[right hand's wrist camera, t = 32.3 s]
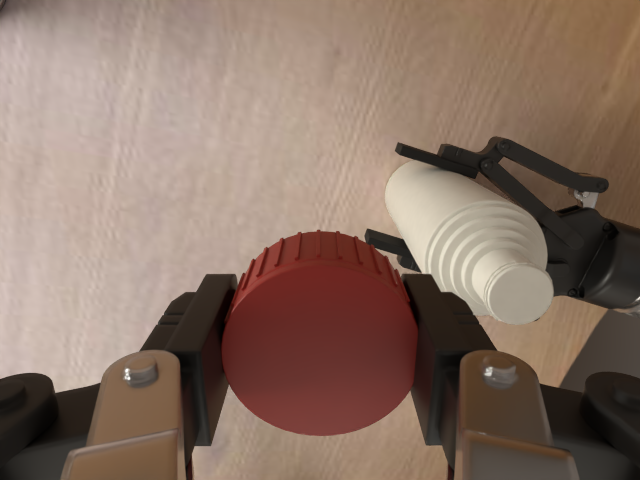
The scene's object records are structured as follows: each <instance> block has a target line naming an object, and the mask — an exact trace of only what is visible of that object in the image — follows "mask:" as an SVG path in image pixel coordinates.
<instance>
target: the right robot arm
mask: <svg viewBox="0 0 640 480" xmlns="http://www.w3.org/2000/svg"><path fill="white" fill-rule="evenodd" d="M5 1H6V0H0V10H1V9H2V7H3V5H4V3H5ZM401 280H402V282H403V285H404V287H405V290H406V292H407V295H408V297H409V300H410V302H409V304H410V306H411V309H412V311H413V314H414V317H415V320H416V322H417V326H418V338H417V349H416V361H415V372H414V383H413V386H412V388H411V390H410V391H411V394H412V398H413V401H414V405H415V408H416V412H417V416H418V419H419V423H420V426H421V430H422V433H423V437H424V440H425V444H426V445H442V446H443V449H444V453H445V456H446V459H447V469H446V480H640V379H639V378H637V377H633V376H631V375H626V374H622V373H616V372H599V373H595V374H592V375H590V376H589V377H588V378H587V379H586V382H585V386H584V390H583V393H581V392H576V391H571V390H566V389H561V388H557V387H552V386H547V385H543V384H540V383H539V380H538V377H537V374H536V373H535V371H534V370H533V369H532V368H531V366H529V365H528V364H527V363H526V362H524V361H523V360H521V359H519V358H517V357H515V356H513V355H510V354H507V353H504V352H500V351H497V349H496V348H495V346H494V345H493V343H492V342H491V340H490V338H489V337H488V335H487V334H486V332H485V331H484V329H483V327H482V326H481V325H479V321H478V320H477V318H476V316H475V315H473V312H472V310H471V309H470V307H469V306H468V304H467V302H466V301H464V300H463V299H461V298H460V297H459V296H457V295H456V294H454V293H453V292H441V291H440V289H439V287H438V285H437V283H436V282H435V280H434V278H433V276H432V275H431V274H402V276H401ZM237 287H238V284H237V277H236V275H235V274H206V276H205V277H204V279H203V281H202V283H201V285H200V286H199V288H198V290H197V292H185V293H184V294H182V295H181V296H179V297H178V298H176V299H175V300H173V301H172V302H171V303H170V305H169V306H168V308H167V309H166V311H165V313H164V315H163V316H162V317H161V319H160V320H159V322H158V325H156V326H155V328H154V329H153V331H152V333H151V334H150V336H149V337H148V339H147V340H146V342H145V343H144V345H143V346H142V348H141V349H140V351H139V352H136V353H133V354H130V355H127V356H125V357H123V358H121V359H119V360H117V361H116V362H114V363H113V364H112V365H111V366H109V368H108V369H107V370H106V371H105V373H104V374H103V377H102V380H101V383H98V384H95V385H92V386H87V387H83V388H78V389H73V390H68V391H63V392H58V393H55V390H54V386H53V383H52V380H51V379H50V378H49V377H47V376H46V375H43V374H38V373H23V374H17V375H13V376H9V377H5V378H2V379H0V480H194V469H193V461H192V452H193V449H194V446H211V444H212V441H213V437H214V434H215V430H216V427H217V423H218V420H219V417H220V413H221V410H222V406H223V403H224V399H225V396H226V393H227V389H228V386H229V383H228V381H227V379H226V376H225V373H224V369H223V365H222V355H221V341H222V334H223V331H224V328H225V323H224V320H225V318H226V315H227V312H228V310H229V307H230V305H231V302H232V300H233V297H234V294H235V292H236V289H237Z"/></svg>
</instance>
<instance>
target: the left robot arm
mask: <svg viewBox="0 0 640 480" xmlns="http://www.w3.org/2000/svg"><path fill="white" fill-rule="evenodd" d="M395 151H396V152H397V153H398V154H399V155H402V156H405V157H408V158H411V159H414V160H417V161H420V162H423V163H427V164H430V165H433V166H436V167H439V168H442V169H445V170H448V171H452V172H455V173H458V174H461V175H464V176H467V177H470V178H473V179H475V178H476V176H477V173H478V171H479V172H481V173H482V174H483V175H484V176H485V177H486V178H487V179H489V180H490V181H491V182H492V183H493V184H494V185H495V186H496V187H498V188H499V189H500V190H501V191H502V192H503V193H504V194H506V195H507V196H508V197H509V198H510V199H511V200H512V201H514V202H515V203H516V204H517V205H518V206H519V207H521V208H522V209H524V210H525V211H527V212H528V213H529V214H530V215H531V216H532V217H533V218H534V219H535V220H536V221H537V223H538V224H539V226H540V228H541V230H542V232H543V234H544V238H545V242H546V246H547V265H546V269H545V271H546V272H547V273H548V274H549V276H550V278H551V280H552V284H553V290H554V295H553V297H554V296H560V295H564V296H569V297H572V298H575V299H578V300H581V301H585V302H588V303H591V304H595V305H598V306H601V307H604V308H608V309H613V310H615V311H618V312H620V313H624V314H627V315H631V316H634V317H638V318H640V229H638V228H635V227H632V226H629V225H626V224H623V223H620V222H617V221H613V220H610V219H607V218H604V217H602V216H601V215H600V214H599V212H598V211H597V210H595V209H594V208H595V205H596V201H597V198H598V194H599V193H602V192H605V191H606V190H607V188H608V186H609V183H608V181H607V180H606V179H603V178H600V177H597V176H594V175H590V174H587V173H576V172H573V171H571V170H569V169H567V168H565V167H563V166H561V165H559V164H557V163H555V162H553V161H551V160H549V159H547V158H545V157H543V156H541V155H539V154H537V153H535V152H533V151H531V150H529V149H527V148H525V147H523V146H521V145H519V144H517V143H515V142H513V141H511V140H509V139H505V138H501V137H497V136H496V137H492V138H491V139H490V140H489V142H488V145H487V146H486V147H485V148H484V149H483V150H482V151H481V152H476V153H475V152H471V151H468V150H465V149H462V148H459V147H456V146H453V145H450V144H441V146H440V148H439V151H438V153H437V155H436V154H433V153H430V152H426V151H423V150H420V149H417V148H414V147H411V146H408V145H405V144H402V143H399V142H398V144H397V146H396V149H395ZM503 157H506V158H508V159H510V160H512V161H514V162H516V163H518V164H520V165H522V166H524V167H526V168H528V169H530V170H532V171H534V172H536V173H538V174H540V175H542V176H544V177H546V178H548V179H550V180H552V181H554V182H556V183H559V184H561V185H564V186H567V187H568V192H569V195H570V196H572V197H574V198H576V199H577V202H578V204H577V205H575V206H571V207H568V208H565V209H561V210H558V211H555V212H553V211H552V210H551V209H549V208H548V207H546V206H545V205H544V204H543V203H542V202H541V201H540V200H539V199H537V198H536V197H535V196H534V195H533V194H532V193H531V192H530V191H528V190H527V189H526V188H525V187H524V186H523V185H522V184H521V183H519V182H518V181H517V180H516V179H515V178H514V177H513V176H512V175H510V174H509V173H508V172H507V171H506V170H505V169H504V168H503V167H501V166H500V165H499V164H498V162H499V161H500V160H501V159H502V158H503ZM365 240H366V243H367V244H369V245H371V244H372V245H374V247H375V248H377V249H380V250H384V251H387V252H390V253H393V254H397V255H398V256H397V260H398V263H399V264H400V265H401V266H402V267H404V268H407V269H411V270H414V271H417V272H420V273H422V272H421V270H420V268H419V266H418V265H417V263H416V261H415V259H414V257H413V256H412V254H411V252H410V250H409V248H408V246H407V245H406V243H405V241H404V239H400V238H397V237H394V236H390V235H387V234H384V233H381V232H377V231H374V230H371V229H367V230H366V233H365ZM538 319H539V318H538ZM538 319H536V320H538ZM536 320H535V321H536Z"/></svg>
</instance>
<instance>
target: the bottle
mask: <svg viewBox="0 0 640 480" xmlns="http://www.w3.org/2000/svg"><path fill="white" fill-rule="evenodd" d="M385 203H386V207H387V210H388V212H389V214H390V215H391V217H392V219H393V221H394V223H395V225H396V226H397V228H398V230H399V232H400V234H401V235H402V237H403V239H404V241H405V243H406V245H407V246H408V248H409V250H410V252H411V254H412V256H413V257H414V259H415V261H416V263H417V265H418V266H419V268H420V270H421V272H422V274H431V275H432V276H433V278H434V280H435V282H436V283H437V285H438V287H439V289H440V291H441V292H453V293H454V294H456V295H457V296H459V297H460V298H461V299H463V300H464V301H466V302H467V304H468V306H469V307H470V309H471V310H472V312H473V315H482V316H486V315H492V316H493V317H494V318H495V319H496V320H497V321H498V320H500V321H502V322H504V323H507V324H512V325H523V324H527V323H530V322H533V321H535V320H536V319H538V318H540V317H541V316H542V315H543V314H544V313H545V312H546V311H547V310H548V308H549V307H550V305H551V303H552V300H553V295H554V290H553V284H552V280H551V278H550V276H549V274H548V273H547V272H546V271H545V269H546V265H547V246H546V242H545V238H544V234H543V232H542V230H541V228H540V226H539V224H538V223H537V221H536V220H535V219H534V218H533V217H532V216H531V215H530V214H529V213H528V212H527V211H525V210H524V209H522V208H521V207H519V206H517V205H515V204H514V203H512V202H510V201H508V200H506V199H505V198H503V197H501V196H499V195H497V194H496V193H494V192H492V191H490V190H488V189H487V188H485V187H483V186H481V185H479V184H478V183H476V182H474V181H472V180H470V179H469V178H467V177H465V176H463V175H461V174H458V173H455V172H452V171H448V170H445V169H442V168H439V167H436V166H433V165H430V164H427V163H423V162H420V161H417V160H412V161H409V162H407V163H405V164H403V165H402V166H400V167H399V168H398V169H397V170H396V171H395V172H394V173H393V174H392V176H391V177H390V179H389V181H388V183H387V186H386V190H385Z"/></svg>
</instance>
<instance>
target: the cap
mask: <svg viewBox="0 0 640 480" xmlns="http://www.w3.org/2000/svg"><path fill="white" fill-rule="evenodd" d="M409 302H410V300H409V297H408V295H407V292H406V290H405V287H404V285H403V282H402V280H401V277H400V275H399V272H398V270H397V269H396V270H394V268H393V267H392V265H391V264H390V262H389V259H388V257H387V256H383V255H382V254H381V253H380V252H378V251H377V250H376V249H375V247H374V245H372V244H371V245H369V244H367V243H365V242H363V241H361V240H359V239H358V237H357V236H354V237H351V236H348V235H345V234H340V232H339V231H336V233H335V232H323V231H320V230H317V232H307V233H301V232H298V234H297V235H294V236H291V237H288V238H286V239H283V238H281V239H280V241H279V242H277V243H275V244H274V245H272V246H271V247H269V248H267V247H266V248H264V251H263V253H262V254H260V255H259V256H258V257H257V259H256V260H254V259H253V260H252V261H251V264H250V266H249V269H248V270H247V272H246V274H245V273H243V274H242V276H241V279H240V282H239V284H238V287H237V289H236V292H235V294H234V297H233V300H232V302H231V305H230V307H229V310H228V312H227V315H226V318H225V320H224V323H225V328H224V331H223V334H222V341H221V355H222V365H223V369H224V373H225V376H226V379H227V381H228V383H229V385H230V387H231V389H232V390H233V392H234V393H235V395H236V396H237V398H238V399H239V400H240V401H241V402H242V403H243V404H244V405H245V407H247V408H248V409H249V410H250V411H251V412H252V413H254V414H255V415H256V416H258V417H259V418H261V419H262V420H264V421H266V422H268V423H269V424H271V425H273V426H276V427H278V428H281V429H283V430H286V431H290V432H294V433H298V434H304V435H314V436H329V435H338V434H345V433H349V432H353V431H356V430H359V429H362V428H364V427H367V426H369V425H371V424H373V423H375V422H377V421H379V420H380V419H382V418H383V417H385V416H386V415H388V414H389V413H390V412H391V411H392V410H394V409H395V408H396V407H397V406H398V405H399V404H400V403H401V402H402V401H403V399H404V398H405V397H406V395H407V394H408V393H409V391H410V390H411V388H412V386H413V383H414V372H415V361H416V349H417V338H418V326H417V322H416V320H415V317H414V314H413V311H412V309H411V306H410V304H409Z"/></svg>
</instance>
